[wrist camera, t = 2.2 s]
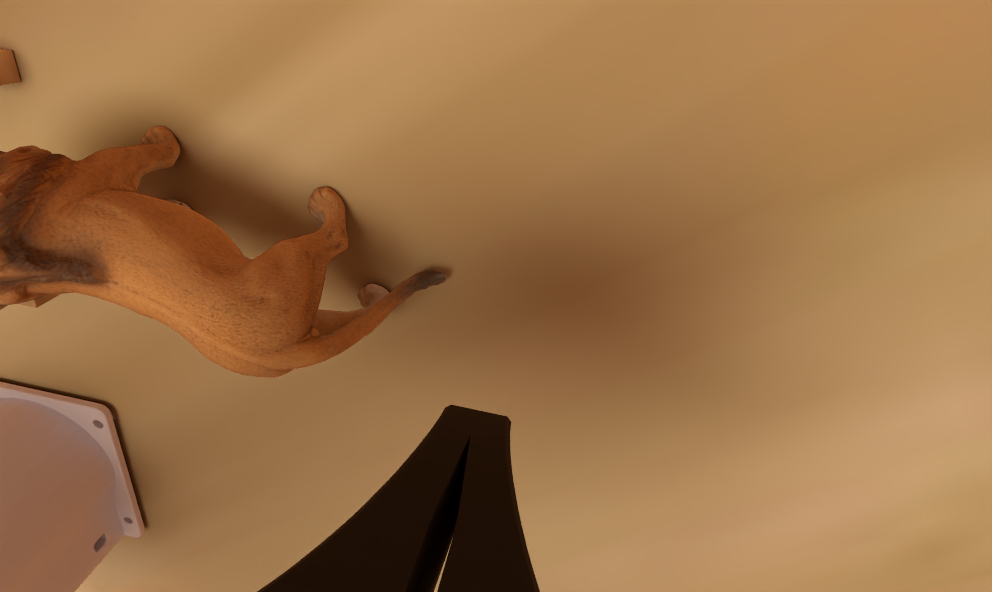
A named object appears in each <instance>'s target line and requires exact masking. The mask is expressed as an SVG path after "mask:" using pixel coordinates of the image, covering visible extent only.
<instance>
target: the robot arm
mask: <svg viewBox="0 0 992 592" xmlns="http://www.w3.org/2000/svg"><path fill="white" fill-rule="evenodd" d="M510 427H511V421H510V420H509V418H508V417H506V416H502V415H497V414H492V413H488V412H483V411H478V410H474V409H469V408H464V407H459V406H455V405H450V406H448V407H446V408H445V409H444V411H443V413H442V414H441V416H440V417H439V419H438V420H437V422H436V423H435V425H434V426H433V428H432V429H431V430H430V432H429V433H428V434H427V436H426V437H425V438H424V439H423V441H422V442H421V443H420V444H419V446H418V447H417V448H416V449H415V451H414V452H413V453H412V454H411V455H410V456H409V458H408V459H407V460H406V461H405V462H404V463H403V465H402V466H401V467H400V468H399V469H398V470H397V471H396V473H395V474H394V475H393V476H392V477H391V478H390V479H389V480H388V481H387V482H386V483H385V484H384V485H383V486H382V487H381V488H380V489H379V490H378V491H377V492H376V493H375V494H374V495H373V496H372V498H371V499H370V500H369V501H368V502H367V503H366V504H365V505H364V506H363V507H361V508H360V509H359V510H358V511H357V512H356V513H355V514H354V515H353V516H352V517H351V518H350V519H349V520H348V521H346V522H345V523H344V524H343V525H342V526H341V527H340V528H339V529H337V530H336V531H335V532H334V533H333V534H332V535H331V536H329V537H328V538H327V539H326V540H325V541H324V542H322V543H321V544H320V545H319V546H317V547H316V548H315V549H314V550H312V551H311V552H310V553H309V554H307V555H306V556H305V557H304V558H302V559H301V560H300V561H299V562H297V563H296V564H295V565H294V566H292V567H291V568H290V569H288V570H287V571H286V572H284V573H283V574H282V575H280V576H279V577H278V578H276V579H275V580H273V581H272V582H271V583H269V584H268V585H266V586H265V587H263V588H262V589H260V590H259V591H257V592H434V589H435V586H436V584H437V581H438V578H439V575H440V572H441V569H442V567H443V564H444V561H445V558H446V555H447V552H448V549H449V546H450V544H451V546H450V550H449V553H448V557H447V560H446V564H445V567H444V571H443V574H442V577H441V581H440V584H439V588H438V591H437V592H540V591H539V588H538V584H537V581H536V578H535V575H534V571H533V568H532V564H531V561H530V557H529V554H528V550H527V546H526V542H525V538H524V534H523V529H522V525H521V521H520V516H519V511H518V506H517V500H516V494H515V488H514V482H513V475H512V466H511V455H510ZM144 531H145V528H144V524H143V521H142V517H141V514H140V510H139V507H138V504H137V500H136V497H135V493H134V490H133V486H132V483H131V480H130V476H129V473H128V469H127V466H126V463H125V459H124V456H123V452H122V449H121V445H120V442H119V439H118V435H117V432H116V428H115V425H114V421H113V418H112V415H111V412H110V410H109V409H108V408H107V407H106V406H104V405H102V404H99V403H95V402H90V401H86V400H81V399H77V398H72V397H67V396H63V395H58V394H54V393H49V392H45V391H40V390H36V389H31V388H27V387H22V386H18V385H13V384H9V383H4V382H0V592H75V591H76V590H77V588H78V587H79V586H80V585H81V584H82V583H83V582H84V580H85V579H86V578H87V577H88V576H89V575H90V573H91V572H92V571H93V570H94V569H95V568H96V567H97V565H98V564H99V563H100V562H101V561H102V560H103V558H104V557H105V556H106V555H107V554H108V553H109V552H110V550H111V549H112V548H113V547H114V546H115V545H116V543H117V542H118V541H119V540H120V539H121V538H122V536H123V535H125V536H129V537H134V538H138V537H140V536H141V535H142V534H143V533H144ZM453 535H454V536H453ZM452 538H453V539H452ZM451 541H452V543H451Z"/></svg>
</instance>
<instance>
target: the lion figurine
mask: <svg viewBox="0 0 992 592" xmlns="http://www.w3.org/2000/svg"><path fill="white" fill-rule="evenodd" d="M142 142H143V145H135V146H130V147H116V148H109V149H104V150H100V151H98V152H95V153H93V154H92V155H90V156H88V157H87V158H85V159H83V160H80V161H73V160H71V159H70V158H68V157H66V156H64V155H61V154H52V153H51V152H50V151H48V150H44V149H39V148H38V147H36V146H24V147H19V148H16V149H14V150H12V151H9V152H2V151H0V310H1V309H2V308H4V307H6V306H7V305H11V304H18V303H23V302H28V301H31V300H34V299H38V298H40V297H43V296H45V295H48V294H61V293H73V292H78V293H82V294H85V295H89V296H93V297H97V298H101V299H104V300H107V301H110V302H113V303H115V304H118V305H121V306H123V307H126V308H129V309H131V310H133V311H135V312H137V313H139V314H141V315H144V316H147V317H150V318H153V319H156V320H158V321H160V322H162V323H164V324H165V325H167V326H169V327H171V328H172V329H174V330H176V331H177V332H178V333H180V334H181V335H182V336H183V337H184V338H185V339H187V340H188V341H189V342H190V343H191V344H192V345H193V346H194V347H195V348H196V349H198V350H199V351H200V352H201V353H202V354H203V355H204V356H205V357H207V358H208V359H210V360H211V361H213V362H214V363H216V364H218V365H220V366H222V367H224V368H226V369H228V370H230V371H233V372H235V373H239V374H242V375H249V376H256V377H278V376H281V375H283V374H286V373H288V372H290V371H291V370H293V369H294V368H301V367H306V366H311V365H314V364H317V363H319V362H322V361H325V360H327V359H329V358H331V357H333V356H335V355H337V354H339V353H341V352H343V351H344V350H346V349H348V348H349V347H351V346H352V345H354V344H355V343H356V342H358V341H359V340H360V339H362V338H363V337H364V336H366V335H368V334H369V333H371V332H372V331H373V330H374V329H375V328H376V327H377V326H378V325H379V324H380V323H381V322H382V321H383V320H384V319H385V318H386V317H387V315H388V314H389V313H390V312H391V311H392V310H393V309H394V308H395V307H396V306H397V305H398V304H399V303H401V302H402V301H404V300H405V299H406V298H408V297H409V296H411V295H412V294H413V293H414V292H416V291H419V290H422V289H426V288H428V287H429V286H433V285H438V284H440V283H443V282H444V281H445V280H446V274H445V273H440V272H437V271H434V270H425V271H423V272H420V273H417V274H415V275H414V276H412V277H410V278H409V279H407V280H405V281H403V282H402V283H400V284H399V285H398V286H397V287H396V288H395V289H394V290H392V291H391V292H390V293H389V292H388V291H387V290H386V289H385V288H383V287H381V286H379V285H376V284H369V285H367V286H366V287H364V288H363V289H361V290H360V291H359V293H358V298H359V300H360V302H361V305H362V307H363V308H364V309H360V310H356V311H349V312H341V311H329V310H318V306H319V303H320V299H321V295H322V290H323V286H324V280H325V274H326V269H327V266H328V263H329V262H330V260H331V259H332V258H334V257H335V256H337V255H339V254H341V253H343V252H344V251H345V250H346V249H347V247H348V237H347V232H346V212H345V206H344V203H343V201H342V199H341V198H340V197H339V195H338V194H337V193H336V192H335V191H334V190H332V189H330V188H328V187H320V188H317V189H315V190H314V192H313V193H312V195H311V196H310V199H309V205H308V210H309V212H310V214H312V215H313V216H314V217H315V218H317V219H319V220H320V221H322V222H323V225H322V227H321V228H320V229H319V230H318V231H316V232H314V233H311V234H307V235H303V236H300V237H296V238H292V239H286V240H283V241H280V242H278V243H276V244H275V245H273V246H272V247H271V248H270V249H268V250H267V251H266V252H265V253H263V254H262V255H260V256H258V257H257V258H255V259H252V260H251V259H248V258H246V257H244V255H243V254H242V252H241V251H240V249H239V248H238V247H237V246H236V244H235V243H234V242H233V241H232V240H231V239H230V238H229V236H228V235H226V234H225V233H224V232H223V230H222V229H221V228H220V227H219V226H218V225H216V224H215V223H214V222H212V221H210V220H209V219H207V218H205V217H204V216H202V215H200V214H199V213H197V212H195V211H193V210H192V209H191V208H190V207H189V206H188V205H187V204H185V203H182V202H180V201H177V200H161V199H158V198H154V197H151V196H146V195H142V194H138V193H137V192H136V191H137V188H138V186H139V184H140V179H141V177H142V176H144V175H146V174H147V173H150V172H152V171H156V170H162V169H167V168H170V167H172V166H173V165H174V164H175V163H176V160H177V158H178V156H179V154H180V146H179V144H178V142H177V140H176V138H175V137H174V135H173V134H172V132H171V131H169V130H168V129H167V128H165V127H162V126H157V127H154V128H151V129H149V130H148V131H147V133H146V135H145V136H144V137H143V139H142Z"/></svg>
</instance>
